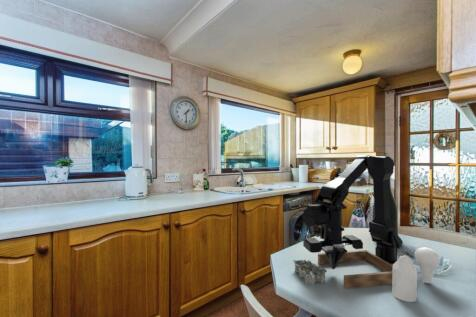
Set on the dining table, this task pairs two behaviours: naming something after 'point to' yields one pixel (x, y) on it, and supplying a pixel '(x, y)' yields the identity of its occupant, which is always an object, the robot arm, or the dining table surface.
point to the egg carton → (304, 271)
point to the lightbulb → (427, 262)
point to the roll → (404, 279)
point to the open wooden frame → (367, 278)
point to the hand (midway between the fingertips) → (332, 268)
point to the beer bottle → (391, 209)
